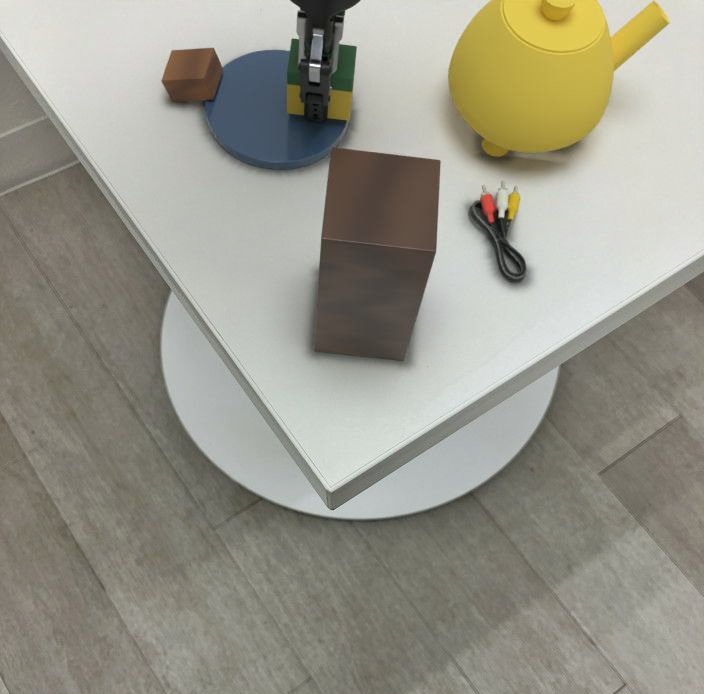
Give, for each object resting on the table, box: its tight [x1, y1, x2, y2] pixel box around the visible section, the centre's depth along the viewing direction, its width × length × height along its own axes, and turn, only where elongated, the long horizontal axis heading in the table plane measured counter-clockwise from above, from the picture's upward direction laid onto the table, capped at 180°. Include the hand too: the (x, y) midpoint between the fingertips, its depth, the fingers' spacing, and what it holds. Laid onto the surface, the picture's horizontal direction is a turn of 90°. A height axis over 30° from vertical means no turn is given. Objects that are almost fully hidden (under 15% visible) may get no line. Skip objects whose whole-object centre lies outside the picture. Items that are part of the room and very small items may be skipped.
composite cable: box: [468, 180, 528, 283], centre depth 74 cm, size 10×5×2 cm, turn 4°
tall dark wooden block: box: [313, 147, 442, 361], centre depth 64 cm, size 8×8×16 cm
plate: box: [204, 49, 349, 170], centre depth 78 cm, size 14×14×1 cm
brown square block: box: [160, 47, 223, 102], centre depth 77 cm, size 4×4×2 cm
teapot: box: [447, 0, 670, 157], centre depth 74 cm, size 20×16×14 cm
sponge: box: [287, 37, 358, 121], centre depth 74 cm, size 6×4×5 cm, turn 85°
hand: (317, 100), depth 76 cm, fingers closed on sponge, 4 cm apart
